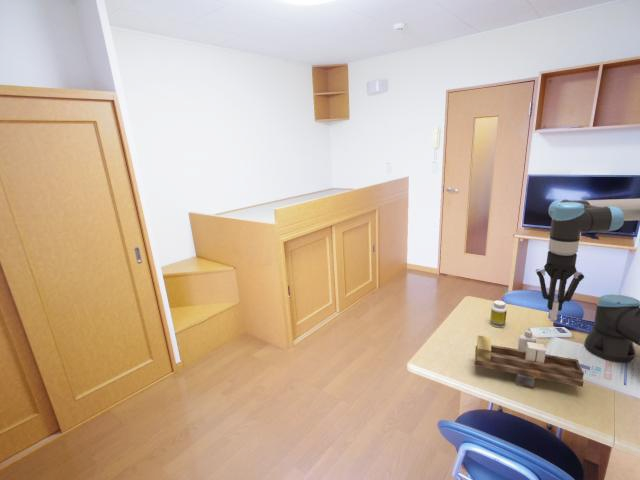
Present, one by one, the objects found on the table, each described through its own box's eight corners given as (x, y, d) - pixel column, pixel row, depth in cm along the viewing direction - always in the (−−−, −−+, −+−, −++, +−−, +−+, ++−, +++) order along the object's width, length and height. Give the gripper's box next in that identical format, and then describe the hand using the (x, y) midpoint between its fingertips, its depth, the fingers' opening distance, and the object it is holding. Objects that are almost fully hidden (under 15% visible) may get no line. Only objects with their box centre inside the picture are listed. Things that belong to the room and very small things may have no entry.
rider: (541, 361, 119) (543, 344, 117) (543, 368, 115) (545, 350, 113) (525, 358, 121) (527, 341, 119) (526, 365, 117) (528, 348, 115)
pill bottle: (506, 328, 151) (508, 306, 148) (491, 326, 153) (493, 305, 150) (503, 321, 157) (505, 300, 154) (488, 320, 159) (490, 299, 156)
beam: (572, 376, 120) (577, 349, 117) (581, 399, 109) (587, 370, 106) (474, 357, 133) (476, 333, 130) (474, 376, 122) (476, 350, 119)
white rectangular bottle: (531, 360, 129) (534, 332, 126) (515, 353, 134) (518, 327, 130) (535, 355, 132) (539, 328, 129) (520, 349, 136) (523, 323, 133)
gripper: (584, 249, 106) (573, 315, 113) (536, 246, 111) (528, 310, 118) (591, 257, 100) (579, 327, 106) (540, 253, 105) (531, 320, 111)
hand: (552, 318), depth 112 cm, fingers closed
